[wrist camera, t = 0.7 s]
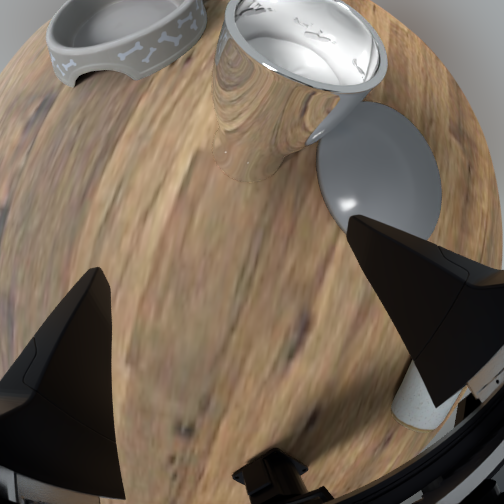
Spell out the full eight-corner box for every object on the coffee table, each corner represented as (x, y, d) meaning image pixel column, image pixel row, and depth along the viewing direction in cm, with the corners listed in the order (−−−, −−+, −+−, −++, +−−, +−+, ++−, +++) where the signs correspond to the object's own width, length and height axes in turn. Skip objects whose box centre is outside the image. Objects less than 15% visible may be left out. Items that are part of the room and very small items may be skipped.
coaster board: (451, 196, 26) (456, 195, 25) (381, 288, 24) (387, 290, 23) (377, 86, 24) (382, 82, 23) (280, 153, 22) (283, 149, 21)
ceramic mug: (375, 409, 25) (414, 441, 18) (404, 345, 25) (452, 368, 18) (425, 406, 27) (460, 429, 20) (449, 353, 27) (489, 369, 20)
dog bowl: (84, 2, 18) (75, -22, 12) (216, -11, 21) (220, -40, 16) (34, 98, 18) (11, 76, 13) (194, 82, 21) (194, 47, 16)
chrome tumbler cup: (214, 107, 21) (237, -32, 6) (291, 122, 22) (381, 13, 8) (199, 181, 21) (197, 68, 6) (282, 195, 22) (400, 125, 8)
